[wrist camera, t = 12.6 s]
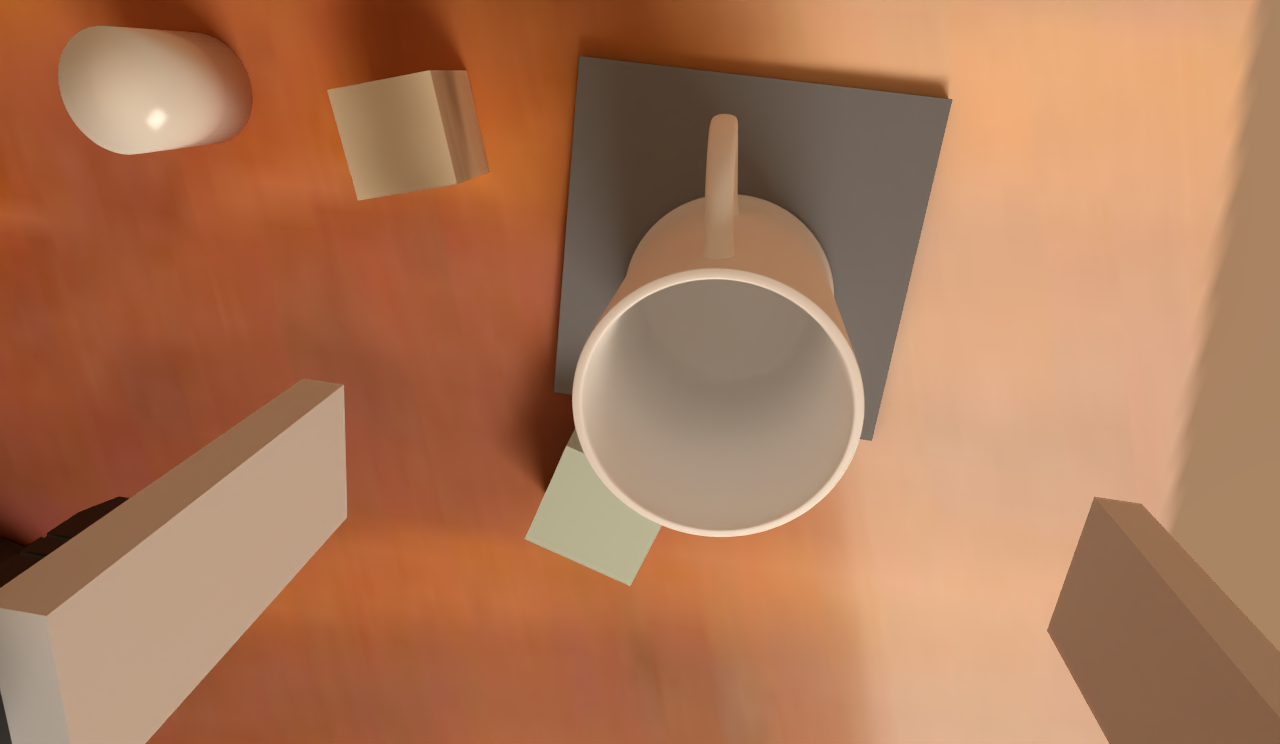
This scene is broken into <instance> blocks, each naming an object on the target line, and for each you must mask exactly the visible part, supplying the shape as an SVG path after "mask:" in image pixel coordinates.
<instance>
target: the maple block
mask: <svg viewBox="0 0 1280 744" xmlns="http://www.w3.org/2000/svg"><path fill="white" fill-rule="evenodd" d="M327 91H328V95H329V98H330V102H331V106H332V109H333V113H334V116H335V120H336V123H337V127H338V131H339V134H340V138H341V141H342V145H343V148H344V152H345V156H346V159H347V163H348V166H349V170H350V173H351V177H352V181H353V184H354V188H355V191H356V195H357V198H358V200H364V199H370V198H376V197H382V196H388V195H394V194H400V193H406V192H412V191H418V190H424V189H430V188H436V187H442V186H448V185H454V184H459V183H461V182H464V181H467V180H469V179H472V178H475V177H477V176H480V175H483V174H485V173H488V172H489V167H488V163H487V158H486V154H485V150H484V145H483V141H482V136H481V132H480V127H479V123H478V118H477V114H476V110H475V105H474V101H473V96H472V92H471V87H470V83H469V78H468V74H467V70H428V71H423V72H417V73H412V74H407V75H402V76H397V77H392V78H387V79H381V80H376V81H371V82H366V83H361V84H356V85H350V86H345V87H340V88H335V89H330V90H327Z"/></svg>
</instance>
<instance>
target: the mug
mask: <svg viewBox="0 0 1280 744" xmlns="http://www.w3.org/2000/svg"><path fill="white" fill-rule="evenodd" d="M572 408H573V417H574V423H575V428H576V432H577V435H578V439H579V442H580V444H581V447H582V449H583V451H584V454H585V456H586V458H587V460H588V461H589V463H590V465H591V467H592V468H593V470H594V471H595V473H596V474H597V476H598V477H599V478H600V479H601V481H602V482H603V483H604V484H605V485H606V487H607V488H608V489H609V490H610V491H611V492H612V493H613V494H614V495H615V496H616V497H617V498H619V499H620V500H621V501H622V502H623V503H624V504H626V505H627V506H628V507H630V508H631V509H633V510H634V511H636V512H637V513H639V514H640V515H642V516H644V517H646V518H647V519H649V520H651V521H653V522H656V523H658V524H660V525H663V526H665V527H668V528H671V529H674V530H677V531H681V532H685V533H689V534H694V535H701V536H711V537H732V536H742V535H748V534H754V533H758V532H762V531H766V530H769V529H772V528H775V527H777V526H780V525H782V524H784V523H787V522H789V521H791V520H793V519H795V518H796V517H798V516H800V515H801V514H803V513H805V512H806V511H808V510H809V509H810V508H812V507H813V506H814V505H816V504H817V503H818V502H819V501H820V500H822V499H823V498H824V497H825V496H826V495H827V494H828V493H829V492H830V491H831V490H832V488H833V487H834V486H835V485H836V484H837V482H838V481H839V480H840V478H841V477H842V476H843V474H844V473H845V471H846V469H847V468H848V466H849V464H850V462H851V460H852V458H853V456H854V454H855V451H856V449H857V446H858V443H859V440H860V436H861V432H862V427H863V420H864V389H863V382H862V377H861V373H860V369H859V366H858V363H857V360H856V357H855V354H854V351H853V348H852V346H851V343H850V340H849V337H848V335H847V332H846V329H845V326H844V323H843V321H842V318H841V315H840V312H839V310H838V307H837V304H836V301H835V299H834V285H833V278H832V273H831V269H830V266H829V263H828V260H827V258H826V255H825V253H824V251H823V249H822V247H821V246H820V244H819V242H818V241H817V239H816V238H815V236H814V235H813V234H812V233H811V231H810V230H809V229H808V228H807V227H806V226H805V225H804V224H803V223H802V222H801V221H800V220H799V219H798V218H796V217H795V216H794V215H792V214H791V213H790V212H788V211H787V210H785V209H783V208H781V207H780V206H778V205H776V204H773V203H771V202H769V201H766V200H763V199H760V198H756V197H752V196H747V195H739V194H738V121H737V118H736V117H735V116H733V115H731V114H719V115H716V116H714V117H713V118H712V120H711V123H710V128H709V136H708V148H707V164H706V185H705V197H703V198H699V199H696V200H693V201H690V202H688V203H685V204H683V205H681V206H679V207H677V208H676V209H674V210H672V211H671V212H669V213H668V214H666V215H665V216H664V217H662V218H661V219H660V220H659V221H658V222H657V223H656V224H655V225H654V226H653V227H652V228H651V229H650V230H649V231H648V232H647V233H646V235H645V236H644V237H643V239H642V240H641V242H640V243H639V245H638V247H637V248H636V250H635V252H634V254H633V256H632V259H631V261H630V264H629V267H628V271H627V275H626V277H625V279H624V280H623V282H622V284H621V285H620V287H619V288H618V290H617V292H616V293H615V295H614V296H613V298H612V300H611V301H610V303H609V304H608V306H607V308H606V309H605V311H604V312H603V314H602V316H601V317H600V319H599V320H598V322H597V324H596V325H595V327H594V328H593V330H592V332H591V333H590V335H589V337H588V339H587V341H586V343H585V345H584V347H583V349H582V352H581V354H580V357H579V360H578V363H577V367H576V371H575V375H574V381H573V390H572Z"/></svg>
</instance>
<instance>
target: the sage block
mask: <svg viewBox="0 0 1280 744" xmlns="http://www.w3.org/2000/svg"><path fill="white" fill-rule="evenodd" d="M661 526H662V525H660V524H658V523H656V522H653V521H651V520H649V519H647V518H646V517H644V516H642V515H640V514H639V513H637V512H636V511H634V510H633V509H631V508H630V507H628V506H627V505H626V504H624V503H623V502H622V501H621V500H620V499H619V498H617V497H616V496H615V495H614V494H613V493H612V492H611V491H610V490H609V489H608V488H607V487H606V485H605V484H604V483H603V482H602V481H601V479H600V478H599V477H598V476H597V474H596V473H595V471H594V470H593V468H592V467H591V465H590V463H589V461H588V460H587V458H586V456H585V454H584V451H583V449H582V447H581V444H580V442H579V439H578V435H577V432H576V428H575V429H574V431H573V433H572V435H571V437H570V439H569V441H568V443H567V445H566V448H565V450H564V452H563V454H562V457H561V459H560V461H559V463H558V466H557V468H556V470H555V472H554V475H553V477H552V479H551V481H550V484H549V486H548V488H547V490H546V493H545V495H544V497H543V499H542V502H541V504H540V506H539V508H538V511H537V513H536V515H535V518H534V520H533V522H532V524H531V527H530V529H529V531H528V533H527V536H526V538H525V539H526V540H528V541H530V542H533V543H535V544H537V545H539V546H542V547H544V548H546V549H548V550H551V551H553V552H555V553H557V554H560V555H562V556H564V557H566V558H568V559H571V560H573V561H575V562H577V563H580V564H582V565H584V566H586V567H589V568H591V569H593V570H595V571H598V572H600V573H602V574H604V575H607V576H609V577H611V578H613V579H616V580H618V581H620V582H622V583H625V584H627V585H629V586H630V585H631V583H632V581H633V580H634V578H635V576H636V574H637V572H638V570H639V568H640V566H641V564H642V562H643V560H644V558H645V556H646V555H647V553H648V551H649V549H650V547H651V545H652V543H653V541H654V539H655V537H656V535H657V533H658V532H659V530H660V528H661Z"/></svg>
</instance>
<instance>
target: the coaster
mask: <svg viewBox="0 0 1280 744" xmlns="http://www.w3.org/2000/svg"><path fill="white" fill-rule="evenodd" d="M951 103H952V99H945V98H937V97H928V96H920V95H911V94H902V93H894V92H885V91H877V90H868V89H860V88H851V87H842V86H834V85H825V84H817V83H808V82H800V81H791V80H782V79H774V78H765V77H757V76H748V75H739V74H731V73H722V72H714V71H705V70H697V69H688V68H679V67H671V66H662V65H654V64H645V63H637V62H628V61H619V60H611V59H602V58H594V57H585V56H579V65H578V78H577V91H576V104H575V118H574V131H573V144H572V158H571V171H570V184H569V197H568V211H567V224H566V237H565V251H564V264H563V277H562V290H561V304H560V317H559V330H558V343H557V357H556V370H555V383H554V392H555V393H562V394H568V395H572V390H573V381H574V375H575V371H576V367H577V363H578V360H579V357H580V354H581V352H582V349H583V347H584V345H585V343H586V341H587V339H588V337H589V335H590V333H591V332H592V330H593V328H594V327H595V325H596V324H597V322H598V320H599V319H600V317H601V316H602V314H603V312H604V311H605V309H606V308H607V306H608V304H609V303H610V301H611V300H612V298H613V296H614V295H615V293H616V292H617V290H618V288H619V287H620V285H621V284H622V282H623V280H624V279H625V277H626V275H627V271H628V267H629V264H630V261H631V259H632V256H633V254H634V252H635V250H636V248H637V247H638V245H639V243H640V242H641V240H642V239H643V237H644V236H645V235H646V233H647V232H648V231H649V230H650V229H651V228H652V227H653V226H654V225H655V224H656V223H657V222H658V221H659V220H660V219H661V218H662V217H664V216H665V215H666V214H668V213H669V212H671V211H672V210H674V209H676V208H677V207H679V206H681V205H683V204H685V203H688V202H690V201H693V200H696V199H699V198H703V197H705V185H706V164H707V148H708V136H709V128H710V123H711V120H712V118H713V117H714V116H716V115H719V114H731V115H733V116H735V117H736V118H737V121H738V194H739V195H747V196H752V197H756V198H760V199H763V200H766V201H769V202H771V203H773V204H776V205H778V206H780V207H781V208H783V209H785V210H787V211H788V212H790V213H791V214H792V215H794V216H795V217H796V218H798V219H799V220H800V221H801V222H802V223H803V224H804V225H805V226H806V227H807V228H808V229H809V230H810V231H811V233H812V234H813V235H814V236H815V238H816V239H817V241H818V242H819V244H820V246H821V247H822V249H823V251H824V253H825V255H826V258H827V260H828V263H829V266H830V269H831V273H832V278H833V285H834V299H835V301H836V304H837V307H838V310H839V312H840V315H841V318H842V321H843V323H844V326H845V329H846V332H847V335H848V337H849V340H850V343H851V346H852V348H853V351H854V354H855V357H856V360H857V363H858V366H859V369H860V373H861V377H862V382H863V389H864V420H863V427H862V432H861V436H860V439H864V440H870V441H872V438H873V433H874V429H875V425H876V421H877V416H878V412H879V408H880V404H881V399H882V395H883V391H884V387H885V383H886V378H887V374H888V370H889V366H890V361H891V357H892V353H893V349H894V344H895V340H896V336H897V332H898V327H899V323H900V319H901V315H902V311H903V306H904V302H905V298H906V294H907V289H908V285H909V281H910V277H911V272H912V268H913V264H914V260H915V255H916V251H917V247H918V243H919V239H920V234H921V230H922V226H923V222H924V217H925V213H926V209H927V205H928V200H929V196H930V192H931V188H932V183H933V179H934V175H935V171H936V167H937V162H938V158H939V154H940V150H941V145H942V141H943V137H944V133H945V128H946V124H947V120H948V116H949V111H950V107H951Z"/></svg>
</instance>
